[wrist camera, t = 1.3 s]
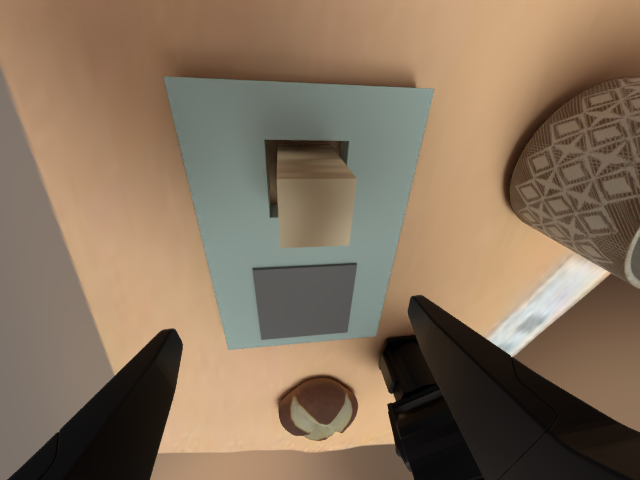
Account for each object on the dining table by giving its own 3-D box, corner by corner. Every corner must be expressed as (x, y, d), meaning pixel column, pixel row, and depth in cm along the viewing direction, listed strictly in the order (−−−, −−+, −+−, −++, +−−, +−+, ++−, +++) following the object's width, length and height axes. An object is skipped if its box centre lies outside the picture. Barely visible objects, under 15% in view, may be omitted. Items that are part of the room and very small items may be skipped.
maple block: (330, 145, 20) (357, 178, 13) (327, 194, 22) (349, 245, 15) (277, 144, 19) (276, 179, 12) (279, 195, 21) (279, 248, 14)
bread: (325, 365, 35) (332, 404, 31) (364, 395, 41) (374, 431, 37) (263, 398, 37) (261, 439, 33) (308, 422, 43) (311, 459, 39)
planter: (610, 202, 26) (774, 263, 18) (491, 235, 27) (595, 311, 18) (673, 56, 20) (991, 37, 11) (513, 102, 20) (699, 118, 11)
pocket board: (416, 87, 18) (436, 88, 16) (369, 318, 31) (376, 338, 28) (178, 76, 16) (160, 76, 14) (232, 330, 29) (227, 352, 26)
